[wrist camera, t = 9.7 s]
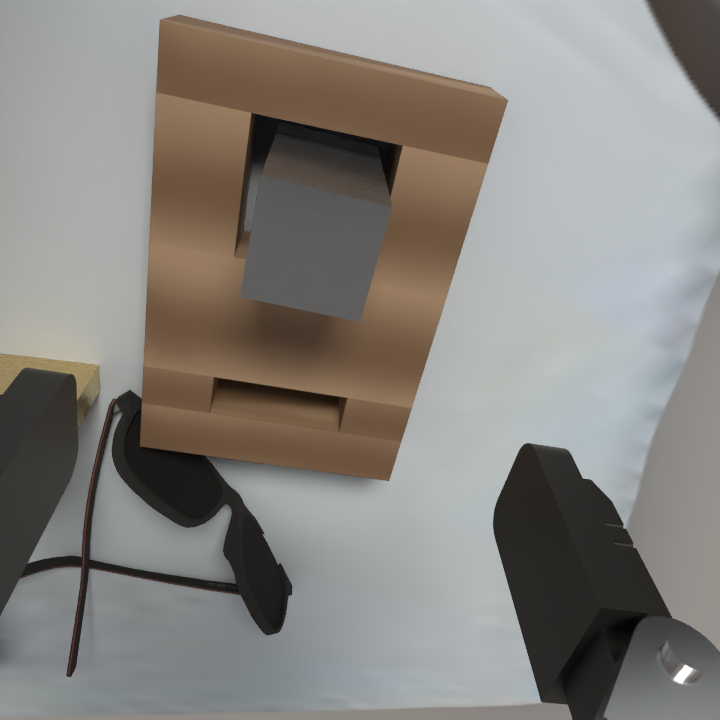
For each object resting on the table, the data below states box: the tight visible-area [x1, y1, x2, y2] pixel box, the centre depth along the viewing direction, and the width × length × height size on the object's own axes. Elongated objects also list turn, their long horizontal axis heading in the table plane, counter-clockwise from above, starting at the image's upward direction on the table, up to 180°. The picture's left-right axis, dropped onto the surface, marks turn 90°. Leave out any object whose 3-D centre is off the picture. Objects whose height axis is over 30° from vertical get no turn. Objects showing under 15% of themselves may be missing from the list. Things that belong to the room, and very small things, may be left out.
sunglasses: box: [19, 390, 292, 677], centre depth 35 cm, size 17×14×5 cm
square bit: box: [240, 122, 392, 322], centre depth 23 cm, size 4×4×8 cm
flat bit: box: [0, 354, 100, 429], centre depth 28 cm, size 2×4×8 cm, turn 81°
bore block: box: [140, 15, 508, 481], centre depth 27 cm, size 18×12×3 cm, turn 168°
